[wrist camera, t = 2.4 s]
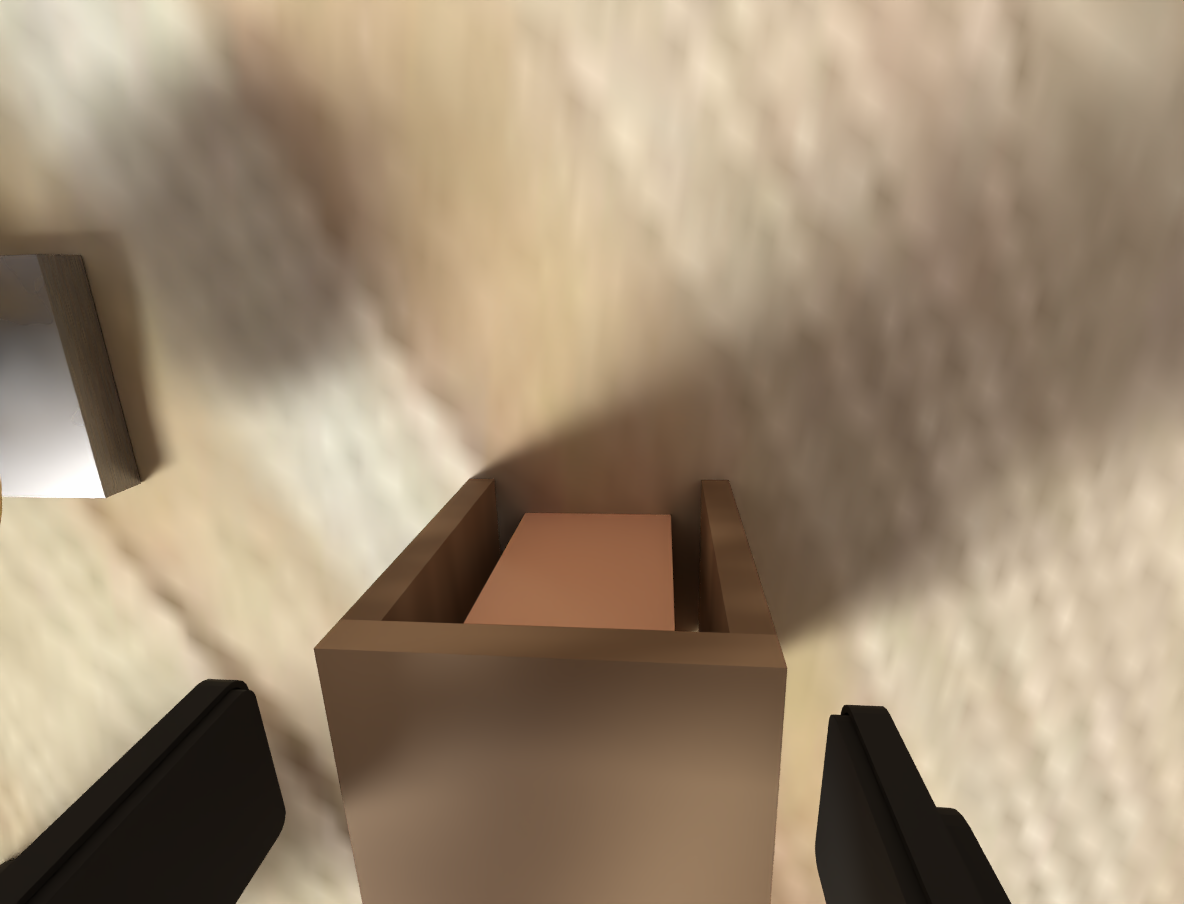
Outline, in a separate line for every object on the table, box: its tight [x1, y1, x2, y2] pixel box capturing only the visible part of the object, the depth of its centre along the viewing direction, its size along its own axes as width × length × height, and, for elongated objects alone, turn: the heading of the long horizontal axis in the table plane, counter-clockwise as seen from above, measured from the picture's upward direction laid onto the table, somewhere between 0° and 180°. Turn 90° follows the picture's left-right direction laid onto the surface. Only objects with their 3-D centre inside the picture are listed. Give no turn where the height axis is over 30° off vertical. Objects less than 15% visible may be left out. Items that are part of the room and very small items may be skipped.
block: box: [464, 513, 675, 631], centre depth 14 cm, size 4×4×6 cm
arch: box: [314, 479, 787, 904], centre depth 13 cm, size 7×6×8 cm
